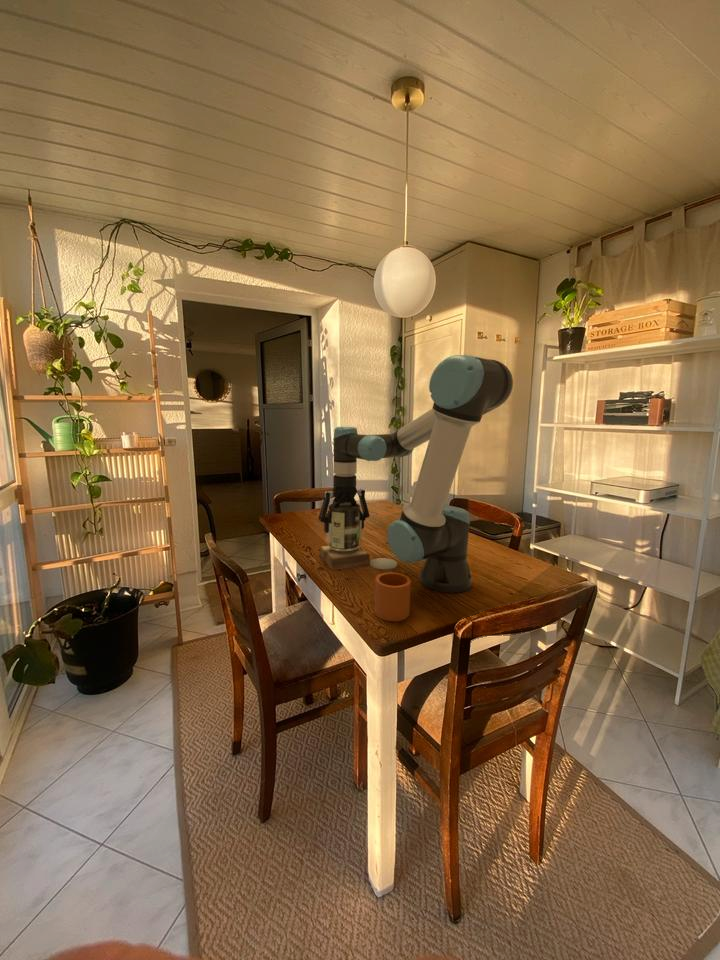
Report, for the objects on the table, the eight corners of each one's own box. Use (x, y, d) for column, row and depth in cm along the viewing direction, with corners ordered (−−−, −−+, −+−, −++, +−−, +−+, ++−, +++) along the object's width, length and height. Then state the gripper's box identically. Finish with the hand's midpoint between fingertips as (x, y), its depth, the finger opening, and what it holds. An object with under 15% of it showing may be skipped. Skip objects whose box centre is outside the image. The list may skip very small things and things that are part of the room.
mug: (394, 596, 109) (396, 565, 108) (415, 618, 98) (418, 584, 97) (364, 601, 106) (365, 569, 105) (382, 624, 95) (384, 589, 94)
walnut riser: (369, 564, 132) (369, 554, 131) (332, 570, 126) (332, 559, 126) (354, 551, 143) (354, 541, 143) (319, 556, 138) (319, 546, 138)
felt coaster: (402, 567, 130) (402, 565, 130) (377, 571, 126) (377, 569, 126) (389, 557, 138) (389, 556, 138) (365, 561, 134) (365, 560, 134)
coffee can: (359, 541, 139) (360, 502, 137) (358, 552, 129) (359, 509, 126) (330, 541, 139) (330, 501, 137) (327, 551, 129) (327, 509, 127)
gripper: (371, 471, 138) (369, 533, 142) (308, 474, 129) (308, 540, 133) (381, 474, 131) (379, 539, 135) (315, 478, 122) (315, 547, 126)
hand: (344, 539), depth 134 cm, fingers closed on coffee can, 10 cm apart
